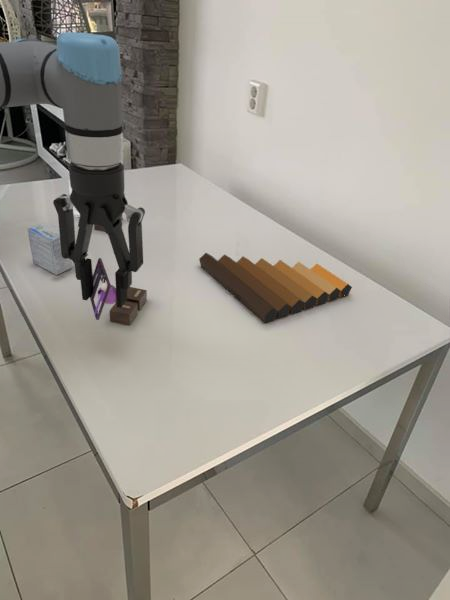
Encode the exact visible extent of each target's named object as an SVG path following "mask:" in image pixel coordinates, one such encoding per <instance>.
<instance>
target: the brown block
mask: <svg viewBox="0 0 450 600" xmlns="http://www.w3.org/2000/svg"><path fill="white" fill-rule="evenodd" d="M120 218H121V221H122V220H123V214H122V215H121V216H120ZM93 229H94V230H95V231H100V232H105V229H104V227H102V226H100V225H98V224H94V225H93Z"/></svg>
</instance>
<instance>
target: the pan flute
mask: <svg viewBox="0 0 450 600" xmlns="http://www.w3.org/2000/svg"><path fill="white" fill-rule="evenodd" d="M198 261H199V264H200V267H201V268H202V269H204V270H205V271H206V273H208V274H209V275H210V276H211V277H212V278H213V279H215V281H217V282H218V283H219V284H220V285H221V286H222V287H223V288H225V289H226V290H227V292H229V293H230V294H232V295H233V297H235V298H236V299H237V300H238V301H239V302H240V303H242V304H243V305H244V306H245V307H246V308H247V309H248V310H249V311H250V312H252V313H253V314H254V315H255V317H257V318H259V319H260V321H262V322H263V323H264V324H269V323H272V322H274V321H275V320H276V318H277V319H279V320H280V319H283V318H287V317H288V315H289V314H291V315H295V314H298V313H301V312H302V309H303V310H305V311H306V310H309V309H312V308H314V306H315V305H316V306H322V305H324V304H326V302H329V303H330V302H333V301H336V300H337V299H338V298H340V299H342V298H346V297H348V296H349V294H350V292H351V290H352V288H353V286H351V285H350V284H348V283H347V282H346V281H344V280H343V279H341V278H339V276H337V275H336V274H334V273H332V272H331V271H330V270H328V269H327V268H325V267H323V266H322V265H320V264H319V263H316V264H314V265H313V266H312V268H309V267H307V266H305V264H303V263H301V262H300V261H297V262H296V263H295V264H294V265H293V266H290V265H288V264H287V263H285V262H284V261H283V260H281V259H279V260H278V261H277V262H275V264H274V265H273V264H271V263H270V262H268V261H267V260H265V259H264V258H262V257H261V258H260V259H259V260H257V262H255V263H254V262H252V261H251V260H250V259H249V258H247V257H245V256H241V257H240V259H238V260H237V261H235V260H234V259H232V258H231V257H230V256H228V255H226V254H223V255H222V256H221V257H220V258H219V259H217V258H215V257H214V256H212V255H211V254H209V253H208V252H205V253H203V255H201V257H199V259H198ZM347 294H348V295H347ZM344 295H345V296H344Z"/></svg>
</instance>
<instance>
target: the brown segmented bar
mask: <svg viewBox="0 0 450 600" xmlns="http://www.w3.org/2000/svg"><path fill="white" fill-rule="evenodd" d="M147 291H148V290H147V289H144V288H143V289H142V288H137V287H133V286H130V287H129V288H128V290H127V300H126V302H125V303H124V305H123V306H122V307H121V308H120V307H117V301H116V302H115V303H113V304H112V307H111V308H110V309H109V321H110V322H112V323H117V324H122V325H126V326H131V324H132V322H133V321H134V320H135V319H136V317H137V315H138V314H139V313H138V312H139V311H141V310H142V308H143V306H144V305H145V304H146V302H147V301H148V299H147V298H148V297H147V296H148V295H147V293H148V292H147Z"/></svg>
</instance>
